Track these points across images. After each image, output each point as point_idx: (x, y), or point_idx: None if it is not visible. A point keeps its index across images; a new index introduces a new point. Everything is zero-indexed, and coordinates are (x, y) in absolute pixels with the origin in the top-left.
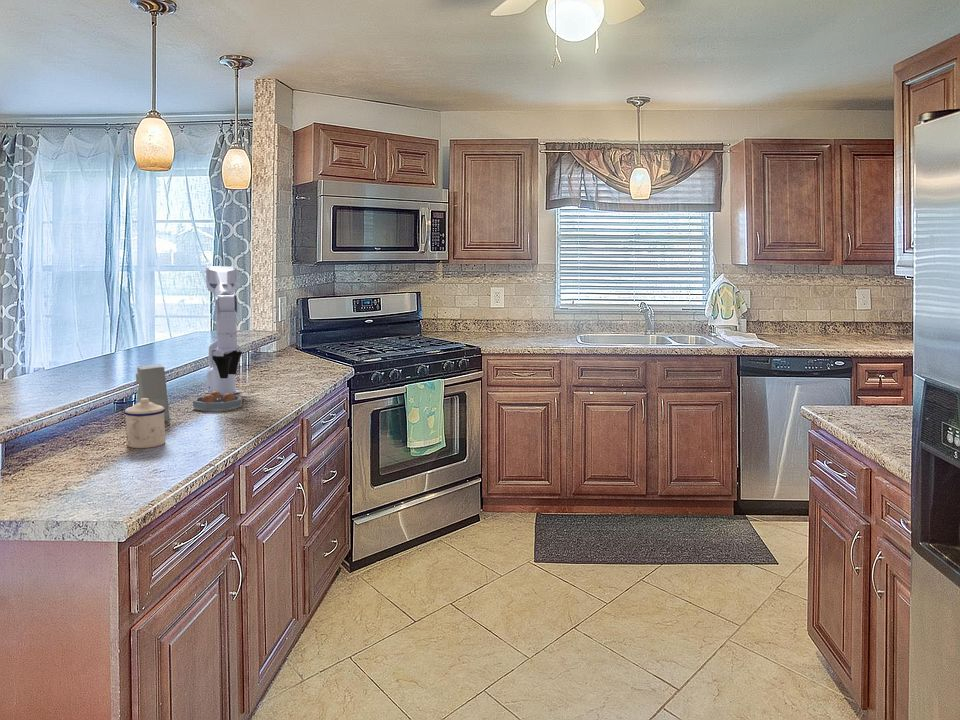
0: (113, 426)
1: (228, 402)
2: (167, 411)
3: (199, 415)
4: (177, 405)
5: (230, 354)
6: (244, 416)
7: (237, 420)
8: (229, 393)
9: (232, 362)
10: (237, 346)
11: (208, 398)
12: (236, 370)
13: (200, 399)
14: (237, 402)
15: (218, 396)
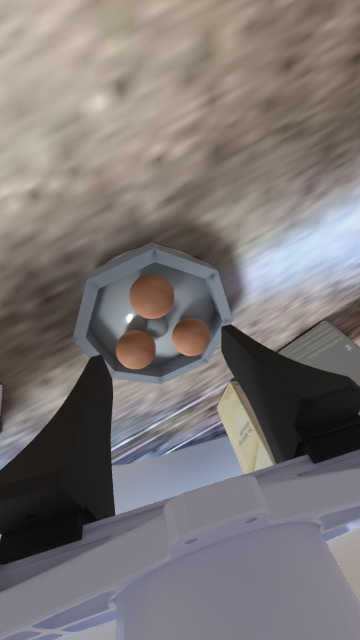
0: None
1: (206, 267)
2: (343, 334)
3: (265, 297)
4: (164, 396)
5: (99, 498)
6: (285, 150)
7: (343, 146)
8: (161, 300)
9: (98, 426)
10: (96, 591)
11: (208, 333)
12: (90, 367)
13: (152, 371)
14: (167, 251)
15: (145, 336)
